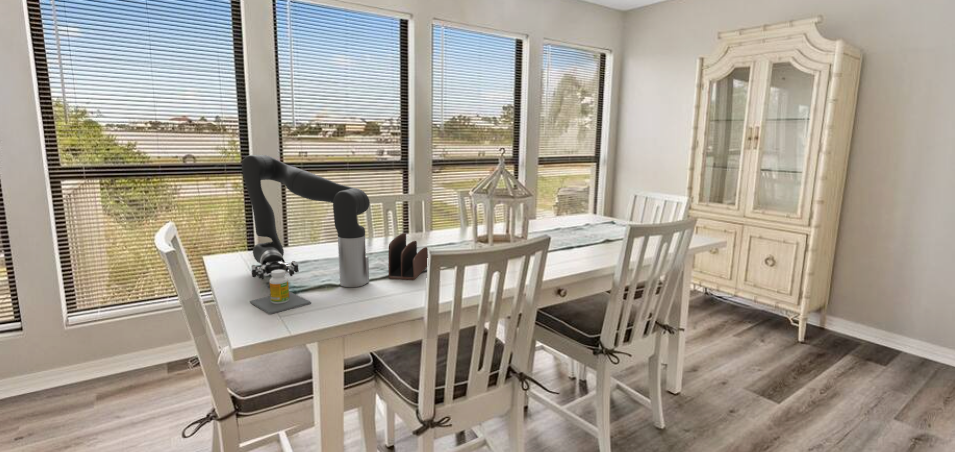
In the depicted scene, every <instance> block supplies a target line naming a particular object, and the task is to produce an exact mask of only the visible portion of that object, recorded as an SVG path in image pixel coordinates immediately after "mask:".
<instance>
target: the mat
mask: <svg viewBox="0 0 955 452" xmlns="http://www.w3.org/2000/svg"><path fill="white" fill-rule="evenodd" d="M249 303H250V304H252V305H253V306H255V307H257V308H258V309H260V310H262V311H263V312H265V313H267V314H268V315H273V314H276V313H280V312H281V313H282V312H285V311H288V310H292V309H295V308H299V307H302V306H303V307H304V306H306V305H307V306H308V305H310V304H312V302H311V301H310V300H308V299H306V298H303V297H302V296H300V295H298V294H295V293H293V292H292V291H290V290H289V301H288V302H286V303H281V304H274V303H272V302H271V296H270V295H269V296H265V297H260V298H257V299H252V300H249Z"/></svg>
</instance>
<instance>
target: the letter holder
mask: <svg viewBox="0 0 955 452" xmlns="http://www.w3.org/2000/svg"><path fill="white" fill-rule="evenodd" d="M428 251H429V250H428V247H427V246H425V247H422V248H421V249H420V250H419V251H418V242H417V240H412V241H410V242H409V243H408V244H407V233H406V232H403V233H400V234H398V235H397V236H396V237H394V238H393V239H392V240H391V241H390V242H389V244H388V255H387V256H388V261H387V262H388V279H389V280H406V281H408V280H409V281H415V280H416V279H417V278H418V277H419V275H421V274H422V273H423V272H424V270H425V269H426V268H427V267H428V266H427V258H428V259H429V253H428Z"/></svg>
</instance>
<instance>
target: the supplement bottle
mask: <svg viewBox="0 0 955 452" xmlns="http://www.w3.org/2000/svg"><path fill="white" fill-rule="evenodd" d="M289 291H290V289H289V277H287V276H286V274H285V270H273V271H272V272H271V276H270V278H269V293H270V295H269V296H271V302H272V303H274V304H281V303H286V302H288V301H289Z"/></svg>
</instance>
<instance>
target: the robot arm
mask: <svg viewBox="0 0 955 452" xmlns="http://www.w3.org/2000/svg"><path fill="white" fill-rule="evenodd" d="M241 171H242V176H243V179H244V183H245V186H246V189H247V194H248V196H249V200H250V203H251V208H252V213H253V219H254V228H255V234H256V236H257V237H263V238H269V239H271V241H269V242H261V243H257V244H256V245H254V246H253V248H252V254H253V255H252V256H253V258H254V260H255V261H256V262H257V263H259V264H260V266H258V265H255V264H253V265H251V277H252V278H256V277H258V279H261V280H265V277H267V276H270V277H272V276H271V272H272V271H273V270H285V275H286V274H288V275H289V277H293V275H295V273H299V264H298V263H297V261H296V260H292V261H291V262H290V263H288V262H286V261H285V259H284V254H285V251H284V248H283V245H282V243H281V241H280V239H279V238H280V237H279V235H278V233H277V227H276V218H275V211H274V210H273V208H272V205H271V204H270V202H269V201H268V200H267V197H266V196H265V194H264V192H263V187H262V181H266V180H267V181H274V182H277V183H281V184H282V185H284V186H285V187H286V188H287V190H288V191H289V192H290V193H292V194H294V195H296V196H298V197H301V198H303V199H307V200H311V201H316V202H325V203H332V210H333V219H334V220H333V221H334V227H335V230H336V232H337V233H336V234H337V249H338V251H337V252H338V268H339V269H338V271H339V273H338V274H339V285H340V286H341V287H345V288H356V287H357V288H358V287H362V286H365V285H366V284H369V283H370V264H369V256H368V255H367V253H366V252H367V250H366V249H367V248H366V247H367V245H366V227H364V226H363V225H360V224H359V223H358V217H357V216H359V215H362V214H364V213H365V212H366V211H368V209H369V208H370V199H369V196H368V194H366V193H365V191H363V190H362V189H360V188H358V187H352V186H348V185H343V184H340V183H338V182H335V181H333V180H329V179H327V178H325V177H323V176H319V175H318V174H315V173H313V172H310V171H307V170H304V169H301V168H298V167H295V166H291V165H289V164H287V163H285V162H282V161H280V160H278V159H277V158H275V157H272V156H270V155H267V154H250V155H246V156H245V157H244V158H243V160H242V163H241Z"/></svg>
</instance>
